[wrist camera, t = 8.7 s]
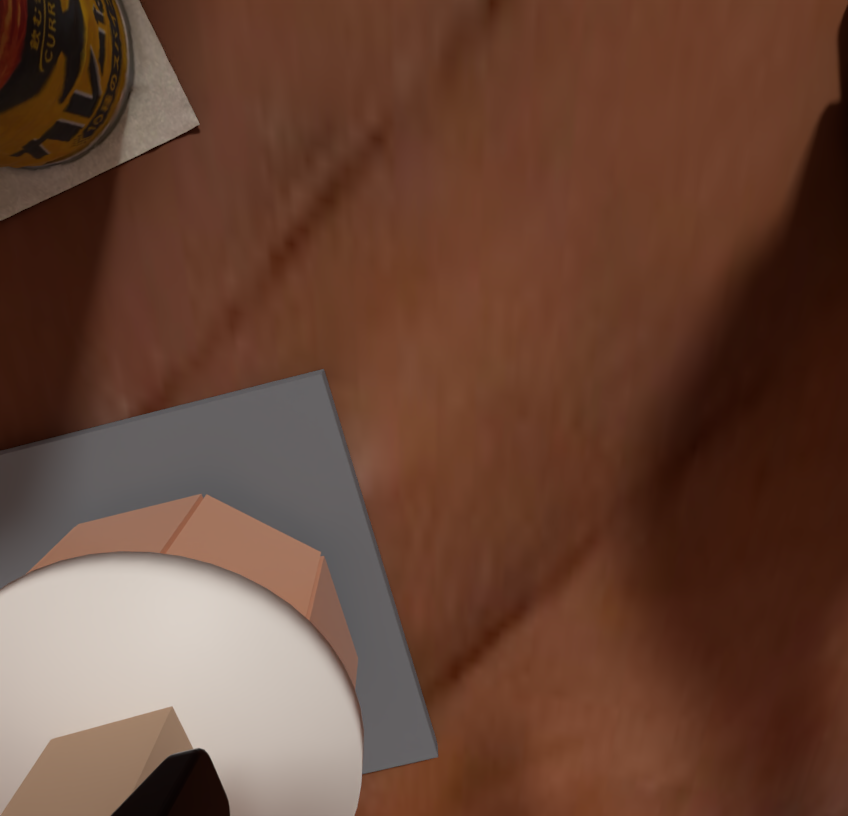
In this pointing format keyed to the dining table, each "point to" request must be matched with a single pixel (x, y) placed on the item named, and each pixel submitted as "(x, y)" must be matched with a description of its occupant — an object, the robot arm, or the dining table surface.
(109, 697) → the lid
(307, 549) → the bowl
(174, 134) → the condiment
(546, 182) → the dining table surface
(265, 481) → the mat
